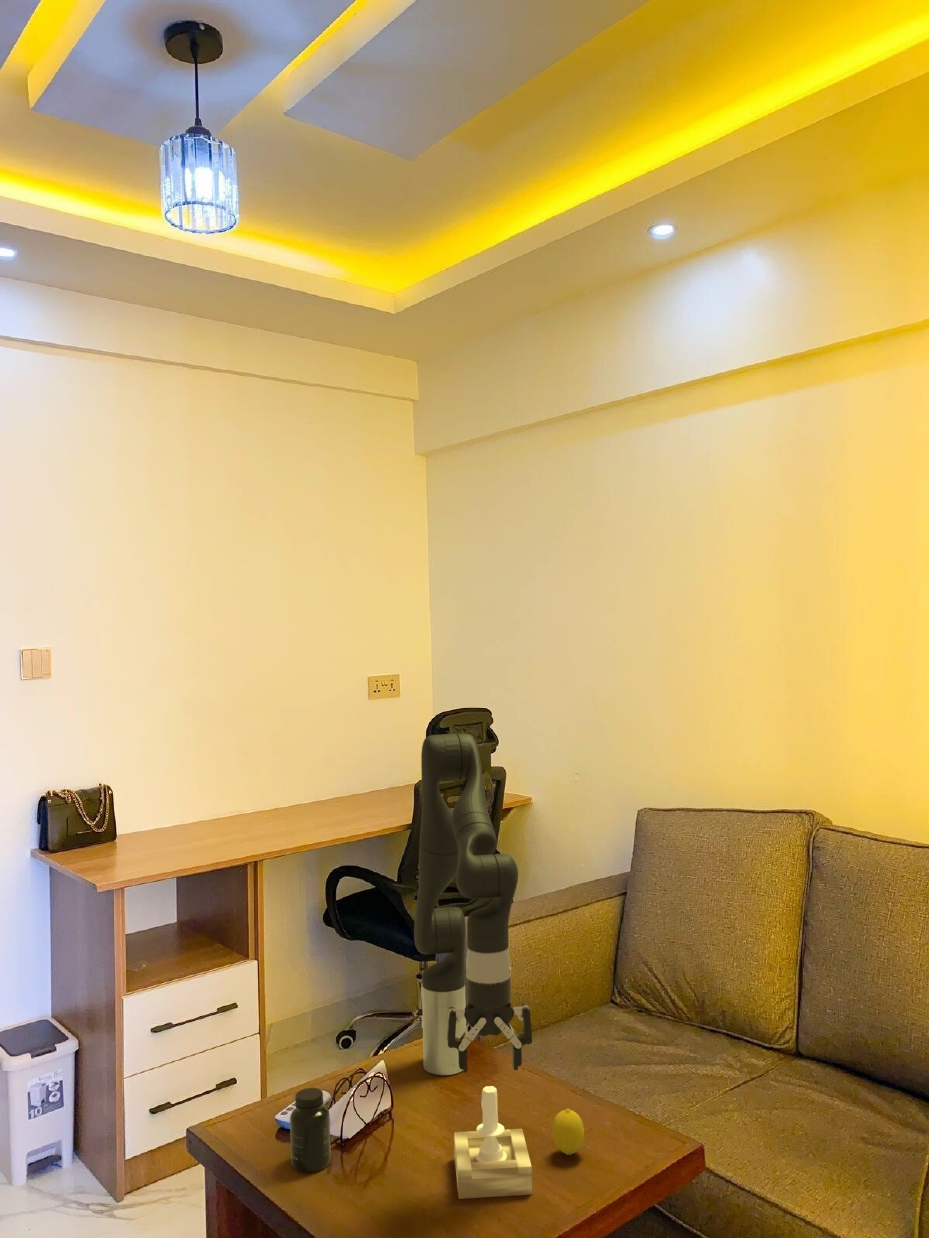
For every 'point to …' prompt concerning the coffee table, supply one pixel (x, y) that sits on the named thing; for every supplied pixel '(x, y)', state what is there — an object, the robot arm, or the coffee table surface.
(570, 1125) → the lemon
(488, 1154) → the candle
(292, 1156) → the supplement bottle
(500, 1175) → the birch plinth
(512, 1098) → the coffee table surface
